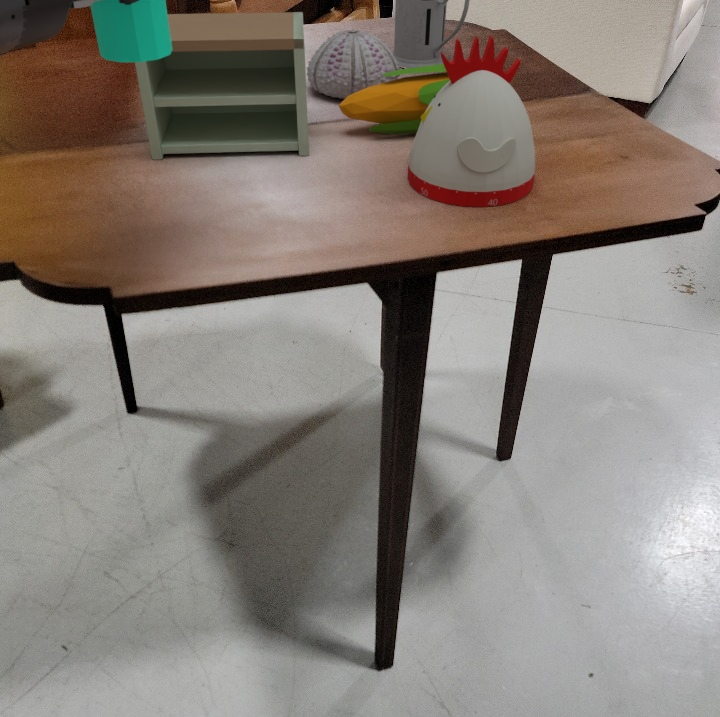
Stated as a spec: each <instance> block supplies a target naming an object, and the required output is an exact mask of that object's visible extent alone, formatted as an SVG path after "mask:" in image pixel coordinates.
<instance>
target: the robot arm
mask: <svg viewBox="0 0 720 717" xmlns="http://www.w3.org/2000/svg"><path fill="white" fill-rule="evenodd" d="M95 1H101V0H0V56H1V55H4V54H7V53H11V52H13V51H16V50H18V49H19V50H20V49H23V48H26V47H29V46H32V45H35V44H38V43H42V42H45V41H48V40H51V39H54V38H55V37H56V36H57V35H58V34H59V33H60V32H61V31H62V29H63V28H64V26H65V24H66V21H67V19H68V15H69V12H70V9H82V8H87V7H90V6H91V5H92V4H93V2H95ZM137 1H139V0H119V3H123V4H125V5H131V4H132V3H135V2H137Z"/></svg>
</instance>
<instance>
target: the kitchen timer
mask: <svg viewBox="0 0 720 717" xmlns="http://www.w3.org/2000/svg"><path fill="white" fill-rule="evenodd" d="M508 55H509V49H508V47H506V46H504V47H503V48H502V49H501V50H500V52H499V54H497V57H495V39H494V37H493V36H492V35H489V37H488V39H487V42H486V46H485V49H484V52H483V55H482V57H481V55H480V40H479V37H478V36H477V35H475V36H474V38H473V41H472V45H471V47H470V52H469V55H468V58H466V59H465V55H464V52H463V47H462V44H461V41H460V40H459V38H456V39H455V42H454V51H453V59H452V60H450V61H449V60H448V58H447V57H446V56H445V54H444V52H443V53H442V52H441V58H442V61H443V64H444V67H445V69H446V71H447V74H448V76H449V79H450V81H449V82H448V83H447V84H446V85H445V86H443V87H442V89H441V90H440V91H439V92H438V93H437V94H436V95H435V96H434V98H433V100H432V101H431V103H430V104H429V106H428V107H427V109H426V111H425V113H424V114H423V115H422V116H421V117H420V118H421V123H420V125H419V128H418V131H417V133H415V137H414V140H413V142H412V145H411V148H410V152H409V156H408V162H407V163H408V165H407V181H408V183H409V186H410V187H411V188H412V189H413V190H414V191H416V193H418V194H419V195H422V196H424V197H426V198H428V199H429V200H433V201H435V202H440V203H443V204H446V205H452V206H459V207H468V208H469V207H470V208H472V207H474V208H487V207H496V206H503V205H508V204H510V203H514V202H517V201H519V200H521V199H523V198H525V197H527V196H528V195H529V193H531V191H532V190H533V187H534V181H535V175H536V150H535V149H536V148H535V142H534V136H533V131H532V130H533V129H532V125H531V124H532V123H531V121H530V117H529V113H528V112H527V109H526V107H525V105H524V102H523V101H522V99H521V97H520V96H519V94H518V93H517V91H516V90H515V88H514V87H513V86H512V85H511V82H512V81H513V79H514V77H515V76H516V74H517V72H518V70H519V69H520V68H519V67H520V65H521V60H520V58H516V60H514V61H513V63H512V64H511V66H510V67H509V68H508V69H507V70H505V71H504V66H505V63H506V60H507V57H508Z"/></svg>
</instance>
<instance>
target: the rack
mask: <svg viewBox="0 0 720 717" xmlns="http://www.w3.org/2000/svg"><path fill="white" fill-rule="evenodd" d="M167 14H168V21H169V28H170V35H171V42H172V52H171V54H170V55H168V56H166V57H163V58H161V59H158V60H152V61H145V62H134V67H135V71H136V77H137V83H138V88H139V94H140V100H141V105H142V111H143V117H144V122H145V128H146V133H147V138H148V145H149V150H150V156H151V160H153V161H155V160H156V161H158V160H163V158H164V156H165V155H172V154H173V155H174V154H175V155H176V154H177V155H178V154H211V153H212V154H213V153H216V154H217V153H244V152H245V153H247V152H248V153H249V152H250V153H251V152H255V153H256V152H288V151H289V152H290V151H298V156H301V157H303V156H305V157H307V156H310V147H309V146H310V144H309V124H308V123H309V122H308V99H307V98H308V97H307V96H308V95H307V70H306V50H305V30H304V27H305V26H304V12H303V11H294V12H293V11H289V12H288V11H287V12H226V13H225V12H223V13H220V12H219V13H218V12H217V13H216V12H215V13H167Z"/></svg>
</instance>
